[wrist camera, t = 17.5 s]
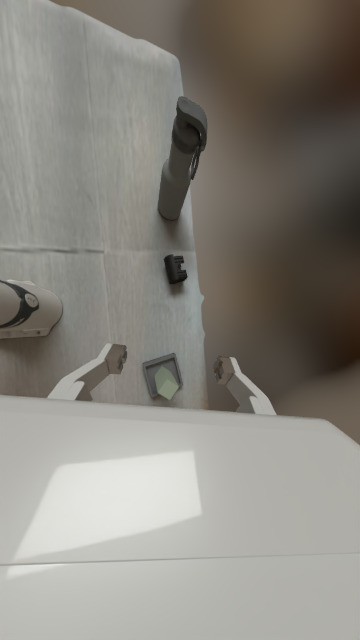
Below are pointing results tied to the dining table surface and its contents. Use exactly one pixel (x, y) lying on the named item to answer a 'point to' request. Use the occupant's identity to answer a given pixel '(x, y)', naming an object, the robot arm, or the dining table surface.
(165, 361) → the grey tray
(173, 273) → the end cap
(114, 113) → the dining table surface
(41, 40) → the dining table surface
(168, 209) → the water bottle
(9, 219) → the dining table surface
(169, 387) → the sage block
